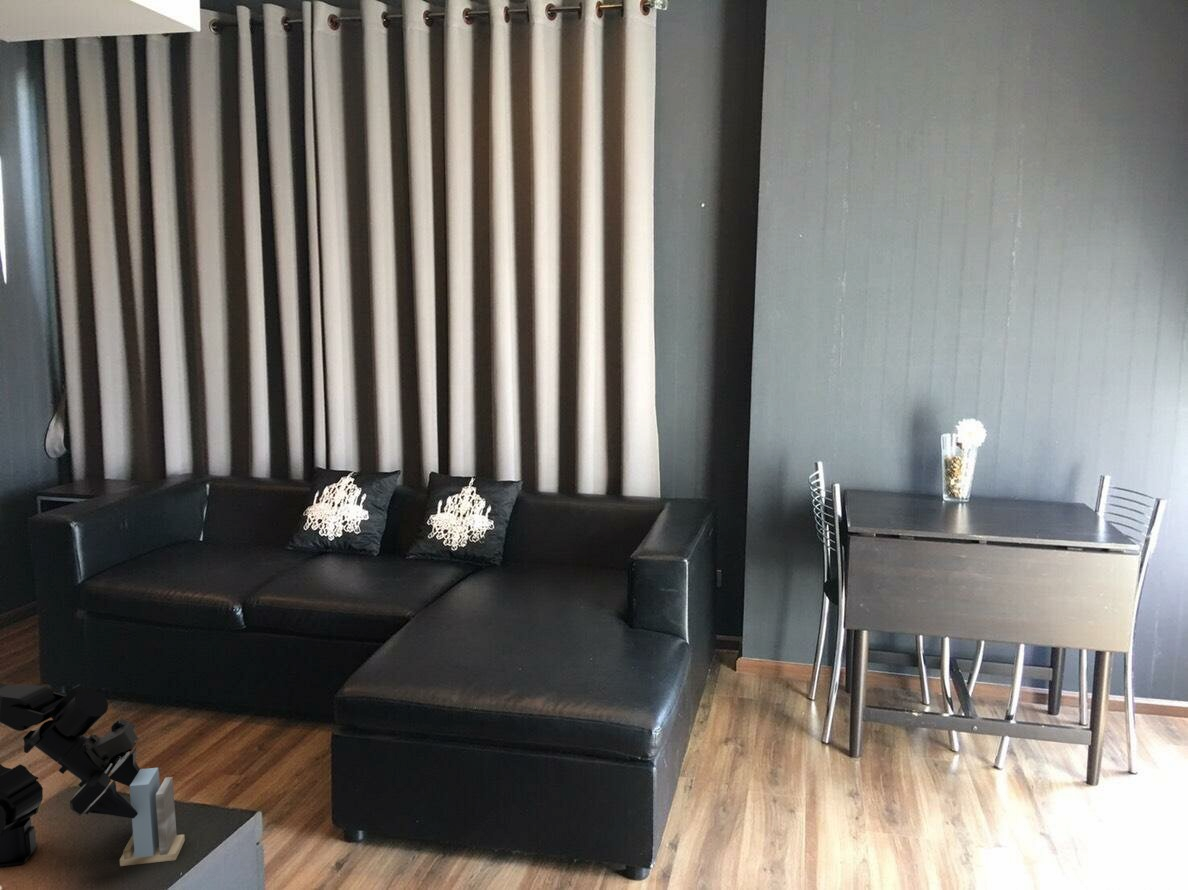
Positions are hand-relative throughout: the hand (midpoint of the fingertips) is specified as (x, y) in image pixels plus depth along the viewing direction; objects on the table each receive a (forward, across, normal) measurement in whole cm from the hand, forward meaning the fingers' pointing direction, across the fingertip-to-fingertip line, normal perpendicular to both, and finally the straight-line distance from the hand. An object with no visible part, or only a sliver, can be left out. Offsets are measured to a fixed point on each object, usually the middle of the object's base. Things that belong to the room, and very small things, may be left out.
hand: (143, 803), depth 165 cm
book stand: (+7, 0, +6) cm, 9 cm away
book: (+6, 0, +5) cm, 8 cm away
